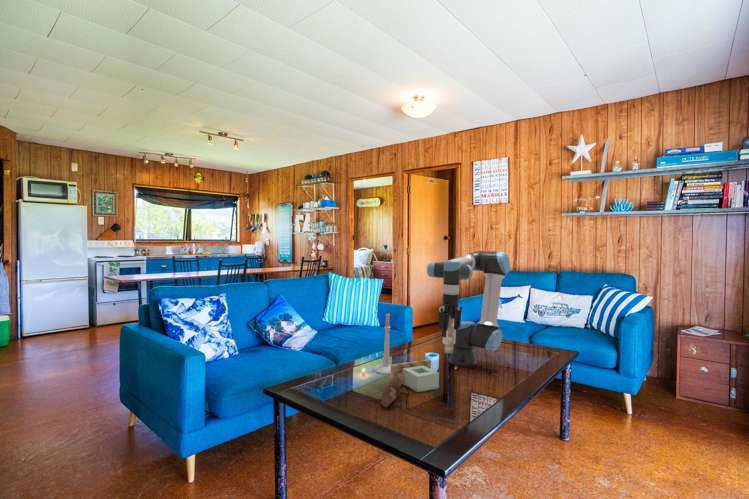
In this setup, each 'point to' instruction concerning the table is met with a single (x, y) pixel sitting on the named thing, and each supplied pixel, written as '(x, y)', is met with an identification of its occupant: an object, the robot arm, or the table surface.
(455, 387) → the table surface
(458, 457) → the table surface
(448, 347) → the dowel
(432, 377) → the sliding block
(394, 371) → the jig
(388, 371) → the candlestick
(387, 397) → the wooden block set
